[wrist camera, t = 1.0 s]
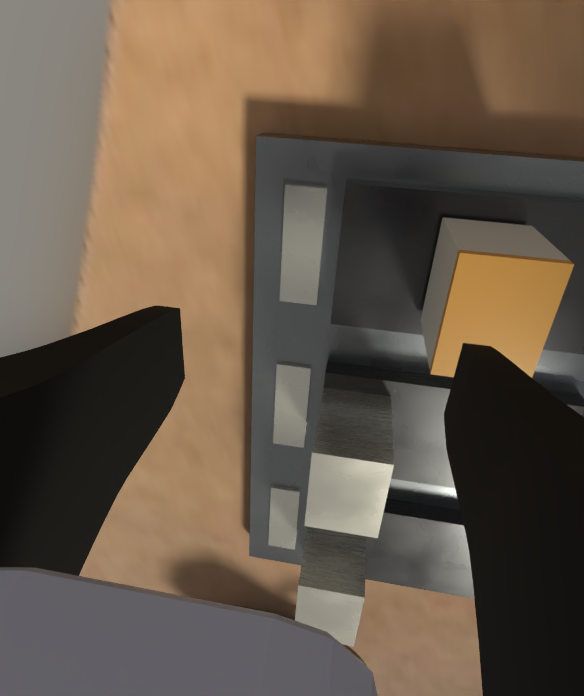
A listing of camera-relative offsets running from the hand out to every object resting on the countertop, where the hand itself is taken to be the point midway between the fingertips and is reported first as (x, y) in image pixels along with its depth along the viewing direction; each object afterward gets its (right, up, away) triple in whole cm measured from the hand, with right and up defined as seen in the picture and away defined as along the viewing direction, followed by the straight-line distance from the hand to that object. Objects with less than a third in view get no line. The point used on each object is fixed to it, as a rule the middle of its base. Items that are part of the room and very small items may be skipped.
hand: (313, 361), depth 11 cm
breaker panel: (+7, -3, +12) cm, 14 cm away
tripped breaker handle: (+6, +3, +6) cm, 9 cm away
